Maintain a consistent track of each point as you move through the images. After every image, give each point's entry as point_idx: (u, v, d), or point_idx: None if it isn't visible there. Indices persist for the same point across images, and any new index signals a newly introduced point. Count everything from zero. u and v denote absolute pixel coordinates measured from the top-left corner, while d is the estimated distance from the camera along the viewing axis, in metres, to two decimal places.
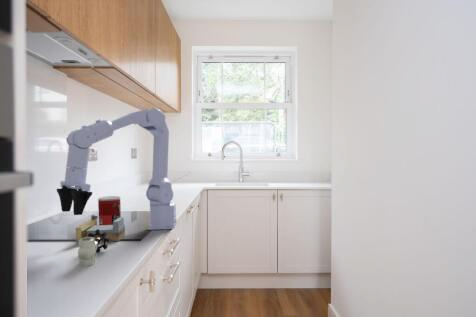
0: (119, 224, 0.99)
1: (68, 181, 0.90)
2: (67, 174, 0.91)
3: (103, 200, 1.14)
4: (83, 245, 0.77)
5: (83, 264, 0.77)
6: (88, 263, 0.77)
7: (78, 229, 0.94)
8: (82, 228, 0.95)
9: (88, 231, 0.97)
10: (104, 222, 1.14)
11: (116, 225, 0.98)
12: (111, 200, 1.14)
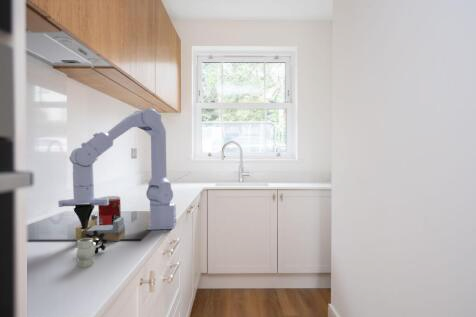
0: (119, 224, 0.99)
1: (84, 199, 0.93)
2: (81, 193, 0.93)
3: None
4: (82, 246, 0.76)
5: (82, 265, 0.76)
6: (87, 264, 0.76)
7: (78, 229, 0.94)
8: None
9: (88, 231, 0.97)
10: (104, 222, 1.14)
11: (116, 225, 0.98)
12: (111, 200, 1.14)
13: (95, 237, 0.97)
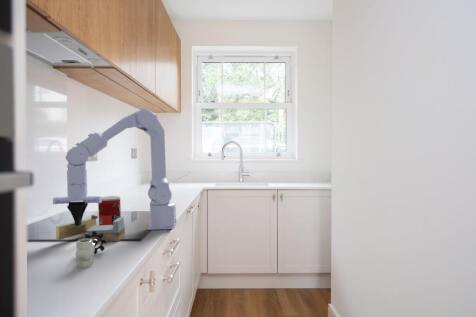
0: (119, 224, 0.99)
1: (78, 197, 0.97)
2: (75, 191, 0.97)
3: (103, 200, 1.14)
4: (81, 247, 0.75)
5: (81, 266, 0.76)
6: (86, 265, 0.76)
7: (57, 228, 0.96)
8: (62, 228, 0.96)
9: (88, 231, 0.97)
10: (104, 222, 1.14)
11: (116, 225, 0.98)
12: (111, 200, 1.14)
13: (95, 237, 0.97)
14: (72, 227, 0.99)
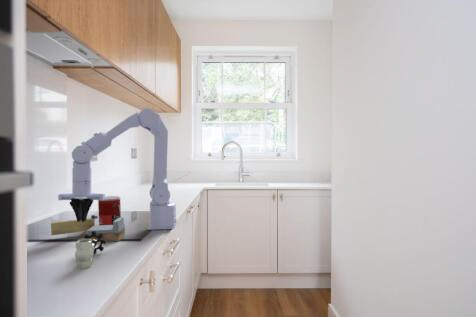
0: (119, 224, 0.99)
1: (82, 194, 1.01)
2: (80, 188, 1.01)
3: (103, 200, 1.14)
4: (81, 247, 0.75)
5: (81, 266, 0.75)
6: (86, 265, 0.76)
7: (51, 224, 1.01)
8: (54, 224, 1.01)
9: (88, 231, 0.97)
10: (104, 222, 1.14)
11: (116, 225, 0.98)
12: (111, 200, 1.14)
13: (95, 237, 0.97)
14: (66, 225, 1.02)
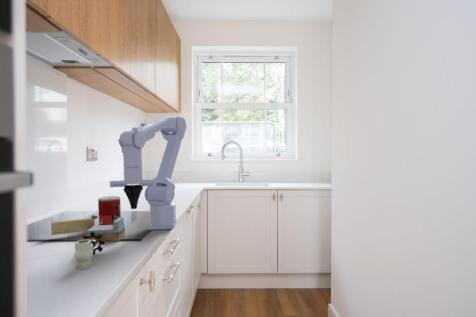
0: (119, 224, 0.99)
1: (135, 180, 0.98)
2: (132, 174, 0.97)
3: (103, 200, 1.14)
4: (80, 247, 0.75)
5: (80, 267, 0.75)
6: (85, 266, 0.75)
7: None
8: (54, 224, 1.01)
9: (88, 231, 0.97)
10: (104, 222, 1.14)
11: (116, 225, 0.98)
12: (111, 200, 1.14)
13: None
14: (66, 224, 1.03)
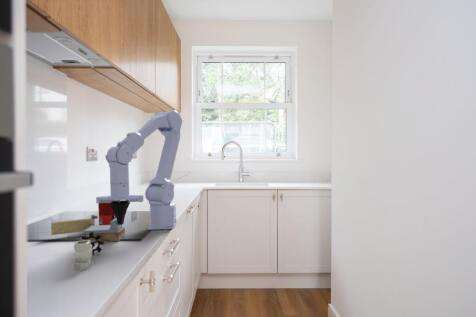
0: (116, 224, 0.99)
1: (121, 196, 0.97)
2: (118, 190, 0.97)
3: None
4: (79, 248, 0.74)
5: (79, 268, 0.74)
6: (84, 267, 0.75)
7: None
8: (54, 224, 1.01)
9: (85, 231, 0.97)
10: (104, 222, 1.14)
11: (113, 225, 0.98)
12: None
13: None
14: (66, 224, 1.03)
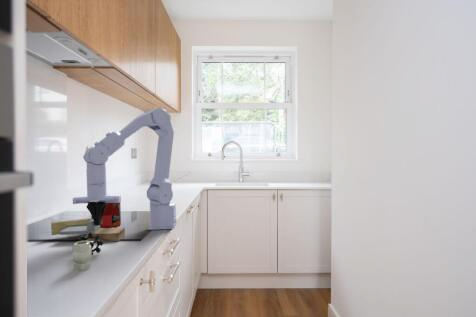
0: (93, 225, 0.99)
1: (98, 197, 0.97)
2: (95, 190, 0.96)
3: None
4: (79, 249, 0.74)
5: (79, 269, 0.74)
6: (84, 267, 0.74)
7: None
8: (54, 224, 1.01)
9: (61, 232, 0.96)
10: (104, 222, 1.14)
11: (90, 226, 0.97)
12: None
13: None
14: (66, 224, 1.03)
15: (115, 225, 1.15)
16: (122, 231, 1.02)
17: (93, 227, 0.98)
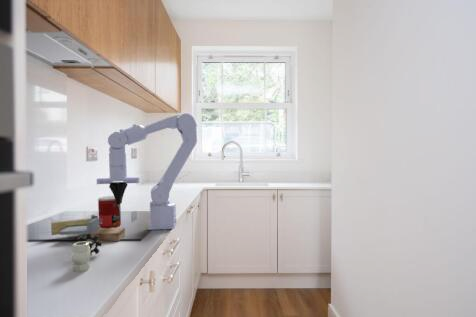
0: (93, 225, 0.99)
1: (119, 178, 1.07)
2: (117, 172, 1.07)
3: (103, 200, 1.14)
4: (78, 250, 0.73)
5: (78, 270, 0.73)
6: (83, 268, 0.74)
7: None
8: (54, 224, 1.01)
9: (61, 232, 0.96)
10: (104, 222, 1.14)
11: (90, 226, 0.97)
12: (111, 200, 1.14)
13: None
14: (66, 224, 1.03)
15: (115, 225, 1.15)
16: (122, 231, 1.02)
17: (93, 227, 0.98)
